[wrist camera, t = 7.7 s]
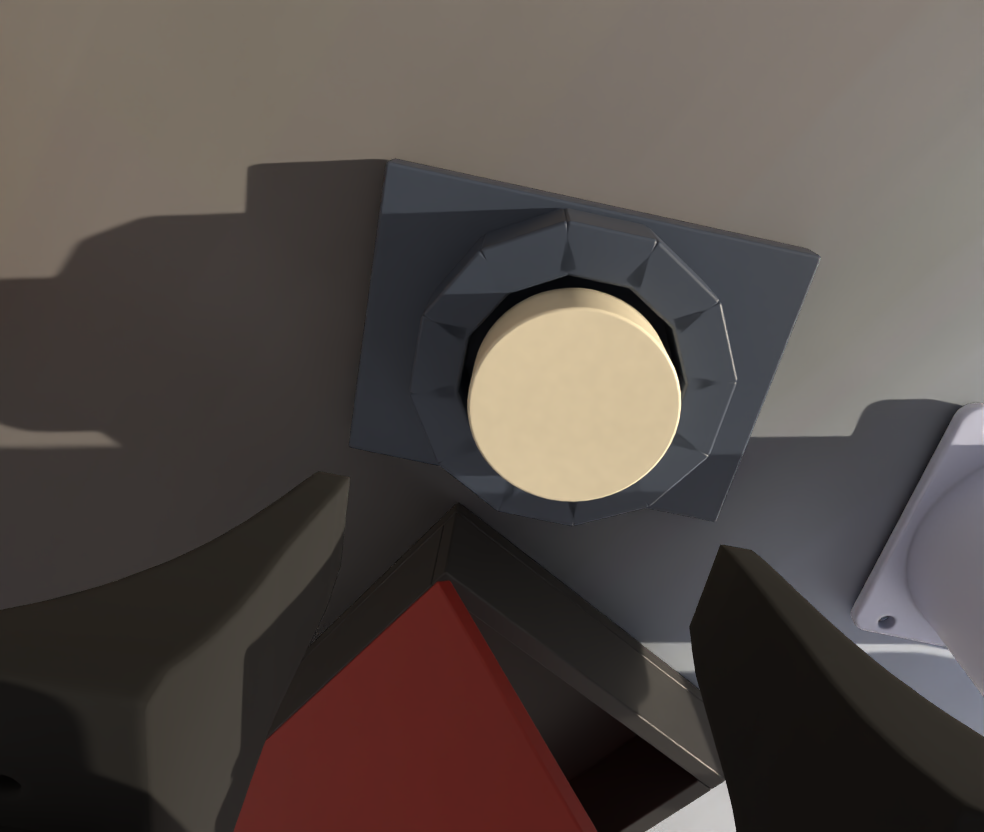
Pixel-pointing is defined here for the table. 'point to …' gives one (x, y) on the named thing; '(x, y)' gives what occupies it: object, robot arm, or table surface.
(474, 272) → the switch block
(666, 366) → the power button
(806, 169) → the table surface
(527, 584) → the black shallow box
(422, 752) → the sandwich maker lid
